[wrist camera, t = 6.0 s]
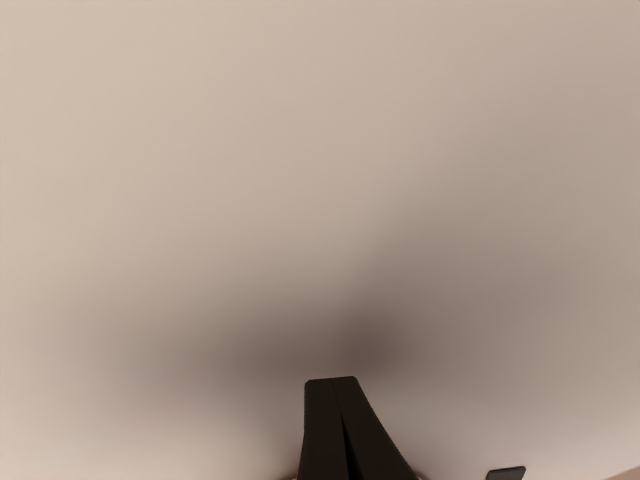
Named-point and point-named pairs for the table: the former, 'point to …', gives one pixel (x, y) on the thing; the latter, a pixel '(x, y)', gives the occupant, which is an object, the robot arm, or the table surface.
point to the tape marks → (507, 474)
